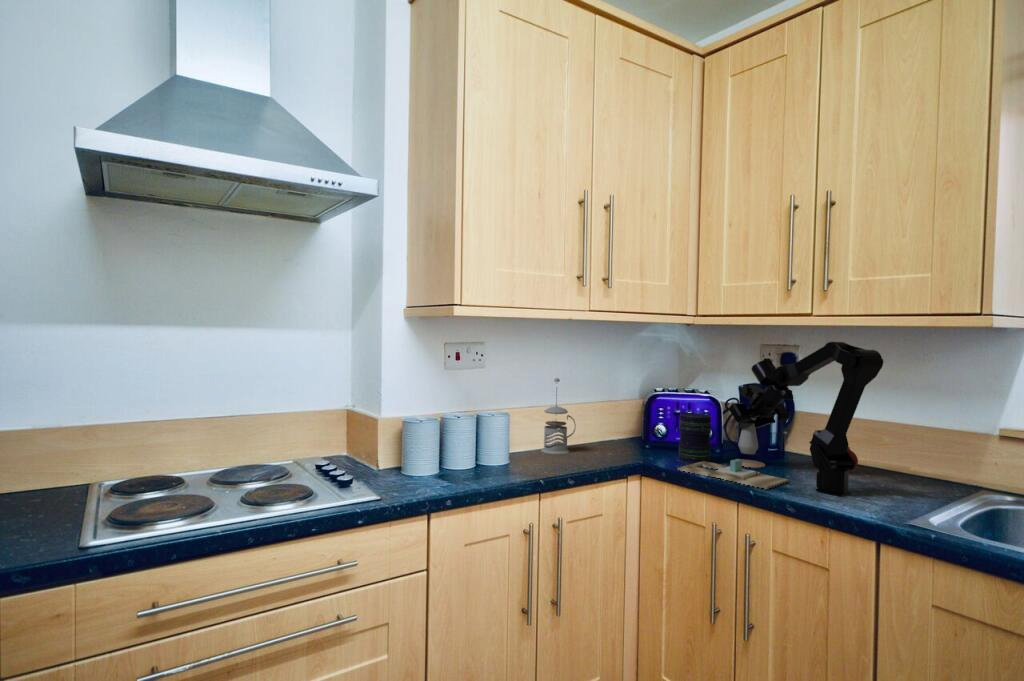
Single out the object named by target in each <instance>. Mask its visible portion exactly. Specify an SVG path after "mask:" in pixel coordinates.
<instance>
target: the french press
mask: <svg viewBox="0 0 1024 681" xmlns="http://www.w3.org/2000/svg"><path fill="white" fill-rule="evenodd" d="M553 382H556V383H558V382H561V381H560V378H559V377H556V378H554V381H553ZM555 396H556V397H555V399H556V401H555V406H550V407H547V408H546V409H545V410H544V413H546V414H552V415H565V414H567V415H566V420H568V418H570V419H571V420H572V421H573V423H574V429H573V431H572V433H570V434H568V427H567V426H566V425H567V422H566V421H558V420H548V421H545V426H544V431H543V434H544V437H543V438H544V439H543V441H544V442H543V448H541V450H540V451H541V452H542V453H545V454H551V455H563V454H564V455H565V454H569V453H570V452H571V451H570V450H569V449H568V439H569V438H570V437H572V436H573V435H574V434H575V431H576V429H577V428H576V421H575V419H574V418H573V417H572V416H571V415H568V412H569V411H568V410H567V409H566V408H563V407H562V406H558V404H557V403H558V401H557V400H558V388H556V394H555Z"/></svg>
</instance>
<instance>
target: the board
mask: <svg viewBox="0 0 1024 681" xmlns="http://www.w3.org/2000/svg"><path fill="white" fill-rule="evenodd" d="M702 466H703V467H702ZM729 466H730V465H724V464H720V463H715V462H711V461H710V462H705V461H702V462H698V463H694V464H685V465H683V466H679V467H677V471H679V470H680V471H679V472H683V471H685V472H684V473H688V472H690V473H689V474H692V473H695V474H694V475H697V474H700V475H699V476H702V475H705V476H704V477H706V476H711V477H716V478H721V479H724V480H723V481H725V480H729V481H733V482H732V483H734V482H737V483H736V484H738V483H741V484H740V485H743V484H745V485H744V486H747V485H750V486H749V487H752V486H754V487H753V488H757V487H759V488H758V489H761V488H764V489H763V490H766V489H768V490H770V489H769V488H771V489H773V488H775V486H776V487H778V486H777V485H779V486H781V485H780V484H782V485H784V484H787V483H789V479H788V478H784V477H783V478H782V477H777V476H773V475H769V474H768V475H767V474H763V473H761V472H760V471H756V475H754V476H751V477H747V478H745V477H742V476H737V475H733V474H728V473H723V472H718V471H716V469H721V468H725V467H729ZM706 467H708V469H707V468H706ZM711 468H713V469H711ZM711 477H710V478H711ZM729 481H728V482H729ZM786 482H787V483H786ZM783 483H784V484H783ZM772 487H773V488H772Z"/></svg>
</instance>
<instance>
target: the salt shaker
mask: <svg viewBox="0 0 1024 681" xmlns="http://www.w3.org/2000/svg"><path fill="white" fill-rule="evenodd" d="M756 419H757V417H755V418H754V419H753V421H754V420H756ZM756 429H757V428H756ZM756 429H755V423H754V424H753V425H751V426H749V427H747V428H745V429H743V430H741V431H740V436H739V440H738V443H737V444H738V448H739V450H740V453H741V454H744V455H745V454H746V455H755V454H756V452H757V450H758V449H759V443H758V442H759V441H758V436H757V430H756Z"/></svg>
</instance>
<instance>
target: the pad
mask: <svg viewBox="0 0 1024 681" xmlns="http://www.w3.org/2000/svg"><path fill="white" fill-rule="evenodd" d="M741 460H742V466H744V467H743V468H749V467H751V469H760V468H761V467H762V468H765V467H766V464H765V463H764V462H761V461H758V460H754V459H753V460H751V459H741Z"/></svg>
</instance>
